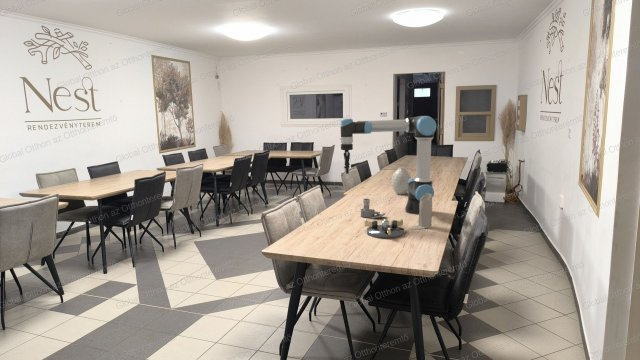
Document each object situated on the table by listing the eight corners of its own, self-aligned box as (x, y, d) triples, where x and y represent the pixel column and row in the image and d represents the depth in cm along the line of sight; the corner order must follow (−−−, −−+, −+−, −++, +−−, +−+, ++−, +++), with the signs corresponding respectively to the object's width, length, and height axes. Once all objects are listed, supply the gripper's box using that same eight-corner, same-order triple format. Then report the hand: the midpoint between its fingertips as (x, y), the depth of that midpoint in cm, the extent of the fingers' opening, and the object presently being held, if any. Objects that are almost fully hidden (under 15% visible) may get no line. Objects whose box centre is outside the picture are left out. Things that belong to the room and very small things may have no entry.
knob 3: (393, 228, 239) (394, 221, 238) (390, 227, 242) (390, 219, 241) (404, 226, 243) (404, 219, 242) (400, 225, 246) (400, 217, 245)
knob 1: (378, 227, 242) (378, 220, 241) (376, 229, 239) (376, 221, 238) (365, 226, 246) (365, 218, 245) (363, 227, 243) (363, 220, 242)
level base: (400, 227, 249) (400, 214, 248) (407, 238, 228) (408, 223, 227) (364, 228, 249) (364, 215, 247) (369, 239, 228) (369, 224, 227)
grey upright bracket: (407, 227, 249) (407, 194, 246) (426, 224, 254) (427, 192, 251) (414, 230, 243) (414, 196, 239) (434, 227, 248) (434, 194, 245)
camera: (364, 197, 279) (385, 199, 272) (364, 214, 281) (385, 217, 274) (359, 200, 272) (381, 202, 265) (359, 217, 274) (381, 220, 267)
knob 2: (384, 231, 233) (384, 224, 233) (389, 231, 233) (389, 224, 233) (386, 235, 226) (386, 228, 225) (392, 235, 226) (392, 227, 225)
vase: (388, 192, 354) (389, 166, 351) (407, 191, 356) (408, 165, 352) (394, 196, 338) (394, 168, 335) (413, 195, 340) (414, 168, 337)
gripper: (340, 142, 277) (340, 173, 280) (340, 145, 252) (341, 180, 255) (352, 141, 276) (352, 173, 280) (353, 145, 252) (353, 180, 255)
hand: (347, 176), depth 268 cm, fingers open, 13 cm apart
